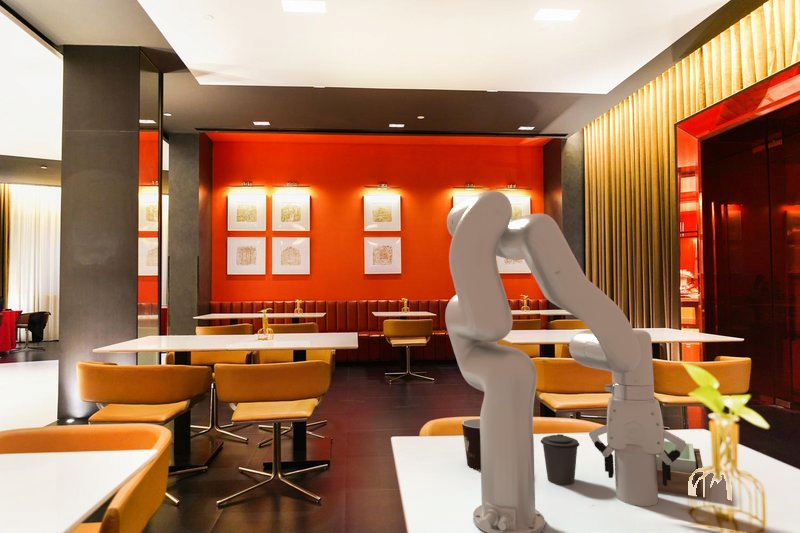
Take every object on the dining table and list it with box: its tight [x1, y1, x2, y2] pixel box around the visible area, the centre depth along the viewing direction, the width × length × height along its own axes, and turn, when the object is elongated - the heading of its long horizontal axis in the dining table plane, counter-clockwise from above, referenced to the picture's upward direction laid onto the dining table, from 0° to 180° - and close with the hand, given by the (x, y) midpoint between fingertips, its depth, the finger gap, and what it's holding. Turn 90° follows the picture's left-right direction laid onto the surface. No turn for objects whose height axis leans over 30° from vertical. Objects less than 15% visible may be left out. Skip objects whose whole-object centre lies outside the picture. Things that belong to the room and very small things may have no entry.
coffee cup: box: [540, 433, 580, 486], centre depth 107 cm, size 8×8×10 cm
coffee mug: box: [461, 418, 481, 471], centre depth 117 cm, size 12×9×10 cm
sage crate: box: [656, 440, 696, 473], centre depth 108 cm, size 13×13×6 cm
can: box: [613, 444, 659, 507], centre depth 97 cm, size 8×8×12 cm
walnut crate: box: [657, 447, 707, 499], centre depth 108 cm, size 18×16×5 cm
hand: (637, 479), depth 97 cm, fingers open, 9 cm apart
